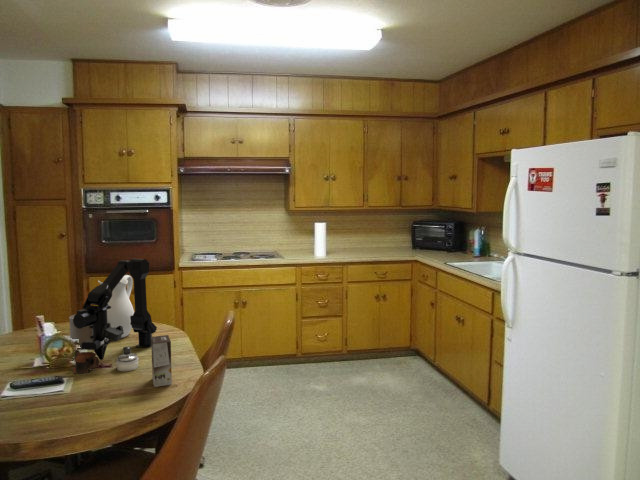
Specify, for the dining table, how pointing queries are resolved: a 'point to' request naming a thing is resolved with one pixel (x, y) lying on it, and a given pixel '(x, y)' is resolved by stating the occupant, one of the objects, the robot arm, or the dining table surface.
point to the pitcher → (121, 305)
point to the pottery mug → (85, 362)
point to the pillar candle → (79, 332)
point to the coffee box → (161, 360)
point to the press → (127, 365)
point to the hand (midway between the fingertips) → (101, 359)
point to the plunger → (127, 355)
